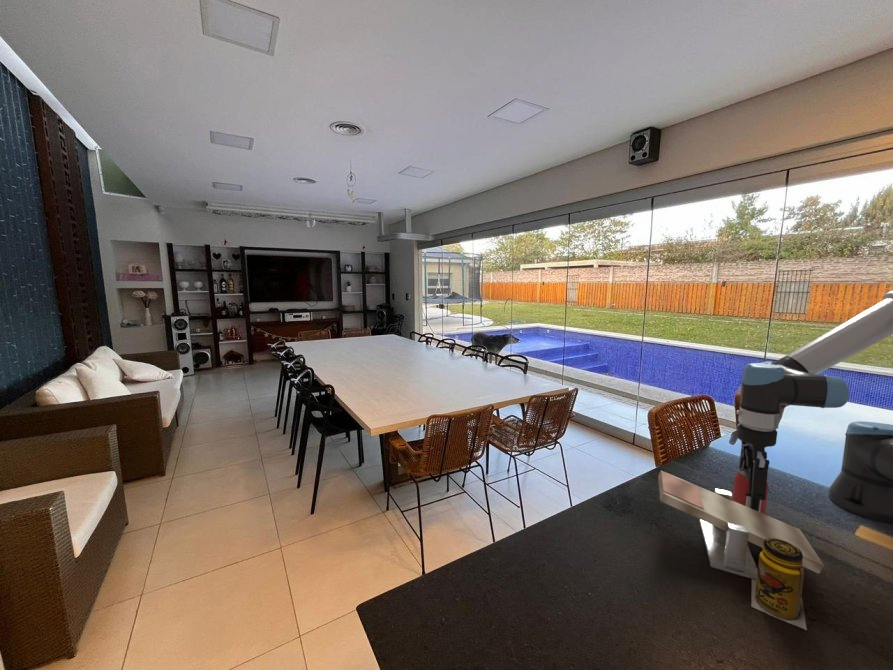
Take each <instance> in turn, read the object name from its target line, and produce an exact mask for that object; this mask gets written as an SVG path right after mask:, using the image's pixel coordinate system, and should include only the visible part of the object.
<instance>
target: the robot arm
mask: <svg viewBox="0 0 893 670" xmlns="http://www.w3.org/2000/svg"><path fill="white" fill-rule="evenodd" d="M892 335H893V289H892V290H890V291H888V292H887V293H885V294H884V295H883V296H882V301H879V302H878V303H876V304H875V305H873V306H871V307H870V308H867V309H865V310H864V311H862V312H860V313H859V314H857V315H855V316H853V317H852V318H850V319H848V320H846V321H844V322H843V323H841V324H839V325H837V326H835V327H833V328H832V329H831V330H829V331H827V332H825V333H823V334H822V335H820V336H818V337H815V338H814V339H813V340H811V341H809V342H808V343H806V344H804V345H802V346H801V347H799V348H797V349H795V350H794V351H792V352H790V353H788V354H787V355H784V356H783V357H781V358H779V359H777V360H776V361H773V360H772V361H763V362H753V363H747V364H746V365H745V366H744V368H743V372H742V377H741V388H740V389H741V390H740V392H741V393H740V401H739V410H736V413H735V414H736V415H738V419H737V420H738V422H739V423H737V427H736V428H737V429H736V438H737V439H738V440H740V441H741V445H740V447H741V448H740V454H739V462H738V470H739V469H749V493H745V496H747V498H746V507H749V508H751V509H753V510H756V511H758V512H760V510H761V502H762V500H765V499H766V486H767V483H768V473H769V471H768V470H769V466H770V463H771V462H770V460H769V459H768V452H767V451H766V450H765V449H766V448H767V447H771V448H772V447H774V446H776V444H777V438H778V431H777V430H778V429H779V424H780V417H781V413H780V412H781V406H782V405H785V406H795V407H798V406H799V407H809V408H810V407H812V408H821V409H829V408H831V409H832V408H835V409H838V408H842V407H843V406H845V405H846V404H847V403H848V401H849V399H850V387H849V386H848V384H847V382H846V381H845V379H843V378H841V377H839V376H834V375H827V374H822V375H820V374H821V373H824V371H828V370H829V369H831V368H832V367H834V366H837V365H838V364H840V363H842V362H844V361H846V360H848V359H849V358H851V357H852V356H854V355H857V354H858V353H860V352H863V351H864V350H866V349H867V348H868V349H869V348H870V347H871V346H873V345H875V344H877V343H879V342H881V341H883V340H884V339H886V338H888V337H890V336H892ZM844 435H845V439H844V448H843V455H842V461H841V462H842V463H841V469H840V473H839V474H838V475H837V476H836V478H835V479H834V480H833V482H832V484H831V485H830V486H829V488H828V494H827V496H828V498H829V500H831V501H832V502H833V503H834V504H835V505H837V506H839V507H841V508H843V509H844V510H846V511H849V512H851V513H853V514H856V515H858V516H862V517H863V518H867V519H871V520H873V521H877V522H881V523H885V524H891V525H893V424H889V423H882V422H874V421H852V422H850V423H849V424H848V425H847V429H846V431H845V434H844ZM738 470H737V471H738Z"/></svg>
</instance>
